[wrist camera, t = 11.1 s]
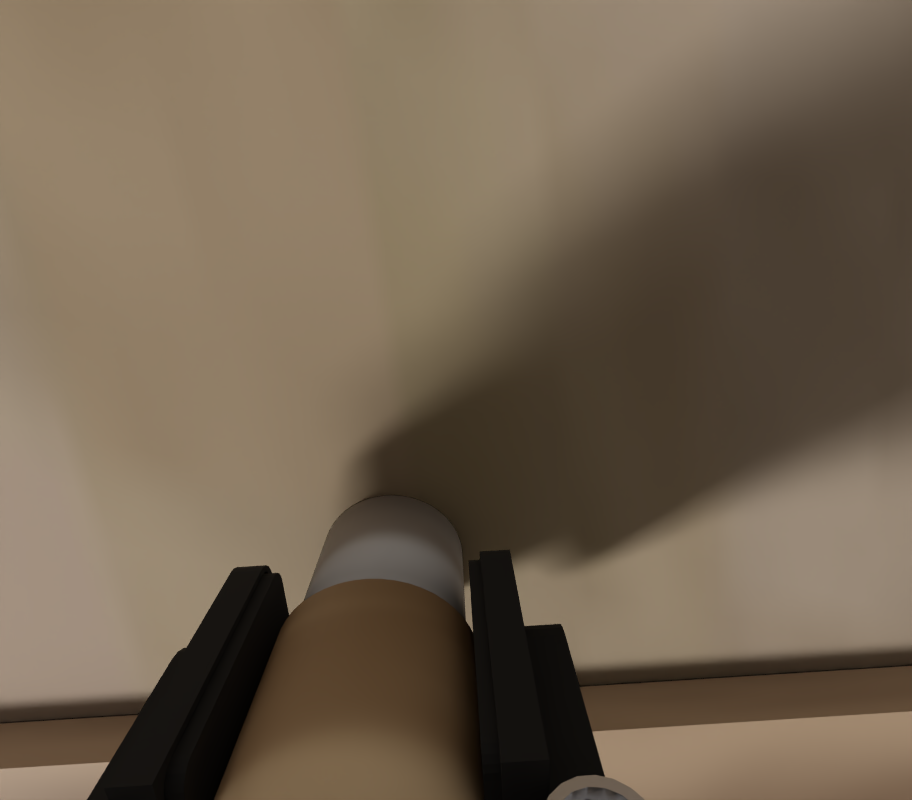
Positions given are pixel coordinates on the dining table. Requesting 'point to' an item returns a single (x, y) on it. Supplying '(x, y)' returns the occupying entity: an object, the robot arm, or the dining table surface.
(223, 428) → the dining table surface
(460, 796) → the awl
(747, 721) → the floor panel
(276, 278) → the dining table surface
